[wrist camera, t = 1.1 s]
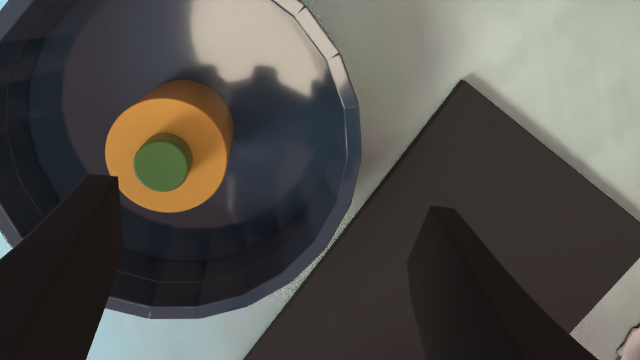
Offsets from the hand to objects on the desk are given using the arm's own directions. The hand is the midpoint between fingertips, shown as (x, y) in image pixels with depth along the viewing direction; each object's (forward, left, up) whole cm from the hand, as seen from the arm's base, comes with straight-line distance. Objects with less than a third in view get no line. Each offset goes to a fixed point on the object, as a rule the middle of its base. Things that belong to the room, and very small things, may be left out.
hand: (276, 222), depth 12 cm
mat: (-3, -13, -12) cm, 18 cm away
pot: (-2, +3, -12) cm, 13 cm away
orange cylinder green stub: (-2, +3, -12) cm, 12 cm away
